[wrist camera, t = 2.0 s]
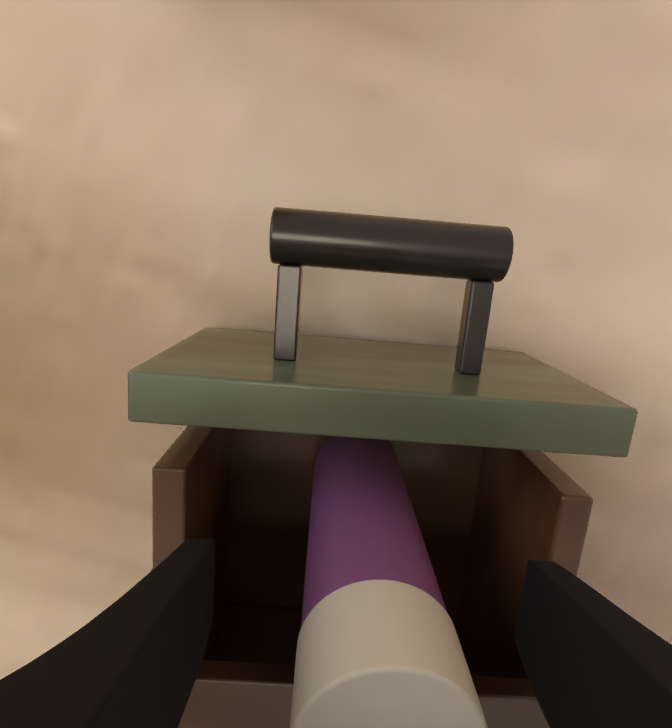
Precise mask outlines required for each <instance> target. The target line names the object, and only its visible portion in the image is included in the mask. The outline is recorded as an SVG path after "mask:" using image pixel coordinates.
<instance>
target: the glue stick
mask: <svg viewBox="0 0 672 728" xmlns="http://www.w3.org/2000/svg"><path fill="white" fill-rule="evenodd" d="M290 728H488V727H487V722H486V719H485V716H484V713H483V710H482V707H481V704H480V701H479V698H478V695H477V692H476V689H475V686H474V683H473V680H472V677H471V674H470V671H469V668H468V665H467V662H466V659H465V656H464V654H463V651H462V648H461V645H460V642H459V639H458V636H457V633H456V630H455V627H454V624H453V622H452V620H451V618H450V616H449V615H448V613H447V611H446V607H445V604H444V601H443V598H442V595H441V592H440V589H439V586H438V583H437V580H436V577H435V574H434V571H433V568H432V565H431V562H430V558H429V555H428V552H427V549H426V546H425V543H424V540H423V537H422V534H421V531H420V528H419V525H418V522H417V519H416V516H415V513H414V510H413V506H412V503H411V500H410V497H409V494H408V491H407V488H406V485H405V482H404V479H403V476H402V473H401V470H400V467H399V464H398V461H397V457H396V455H395V452H394V450H393V449H392V447H391V446H390V444H389V443H388V442H387V441H386V440H379V439H365V438H352V437H338V436H332V437H331V438H329V439H328V440H327V441H326V442H325V443H324V444H323V445H322V446H321V448H320V449H319V451H318V453H317V455H316V458H315V463H314V473H313V485H312V498H311V510H310V522H309V534H308V547H307V559H306V571H305V584H304V596H303V608H302V621H301V630H300V633H299V636H298V642H297V650H296V661H295V672H294V684H293V695H292V707H291V718H290Z"/></svg>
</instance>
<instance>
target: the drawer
mask: <svg viewBox="0 0 672 728" xmlns="http://www.w3.org/2000/svg"><path fill="white" fill-rule="evenodd" d="M512 255H513V235H512V232H511V230H510V229H509V228H508V227H501V226H489V225H478V224H466V223H454V222H443V221H431V220H419V219H408V218H396V217H385V216H373V215H361V214H350V213H338V212H327V211H315V210H303V209H292V208H280V207H275V208H274V210H273V212H272V217H271V224H270V259H271V262H272V263H274V264H280V265H278V277H277V296H276V314H275V333H268V332H255V331H242V330H230V329H217V328H204V329H203V330H201V331H199V332H197V333H195V334H194V335H192V336H190V337H188V338H187V339H185V340H183V341H181V342H179V343H178V344H176V345H174V346H172V347H171V348H169V349H167V350H165V351H163V352H162V353H160V354H158V355H156V356H155V357H153V358H151V359H149V360H148V361H146V362H144V363H142V364H140V365H139V366H137V367H135V368H133V369H132V370H130V371H129V372H128V419H129V421H132V422H146V423H159V424H173V425H187V426H188V427H187V428H186V429H185V430H184V431H183V433H182V434H181V435H180V436H179V437H178V439H177V440H176V441H175V442H174V443H173V444H172V446H171V447H170V448H169V449H168V450H167V452H166V453H165V454H164V455H163V456H162V457H161V459H160V460H159V461H158V462H157V463H156V465H155V466H154V467H153V469H152V474H153V569H154V568H155V567H157V566H158V565H159V564H160V563H161V562H162V561H163V560H164V559H165V558H166V557H168V556H169V555H170V554H171V553H172V552H173V551H174V550H175V549H176V548H177V547H179V546H180V545H181V544H182V543H183V542H184V541H186V540H187V539H188V538H199V539H215V540H216V543H215V578H214V614H213V621H212V625H211V629H210V633H209V637H208V641H207V645H206V649H205V653H204V656H203V659H205V660H222V661H239V662H255V663H272V664H289V665H295V661H296V650H297V642H298V636H299V633H300V630H301V621H302V608H303V596H304V584H305V571H306V559H307V547H308V534H309V522H310V510H311V498H312V485H313V473H314V463H315V458H316V455H317V453H318V451H319V449H320V448H321V446H322V445H323V444H324V443H325V442H326V441H327V440H328V439H329V438H331V437H332V436H338V437H352V438H365V439H379V440H386V441H387V442H388V443H389V444H390V446H391V447H392V449H393V450H394V452H395V455H396V457H397V461H398V464H399V467H400V470H401V473H402V476H403V479H404V482H405V485H406V488H407V491H408V494H409V497H410V500H411V503H412V506H413V510H414V513H415V516H416V519H417V522H418V525H419V528H420V531H421V534H422V537H423V540H424V543H425V546H426V549H427V552H428V555H429V558H430V562H431V565H432V568H433V571H434V574H435V577H436V580H437V583H438V586H439V589H440V592H441V595H442V598H443V601H444V604H445V607H446V611H447V613H448V615H449V616H450V618H451V620H452V622H453V624H454V627H455V630H456V633H457V636H458V639H459V642H460V645H461V648H462V651H463V654H464V656H465V659H466V662H467V665H468V668H469V671H470V674H471V675H475V676H492V677H509V678H526V679H528V678H527V675H526V672H525V670H524V667H523V664H522V661H521V658H520V655H519V652H518V648H517V645H516V642H515V639H514V636H513V634H514V629H515V624H516V618H517V613H518V608H519V603H520V598H521V593H522V587H523V582H524V577H525V572H526V567H527V562H528V560H538V561H553V562H555V563H557V564H559V565H560V566H562V567H563V568H565V569H566V570H568V571H569V572H571V573H572V574H573V575H575V576H577V571H578V566H579V562H580V557H581V553H582V548H583V544H584V539H585V535H586V530H587V526H588V521H589V517H590V512H591V508H592V503H593V500H592V497H591V496H590V495H588V494H587V493H586V492H585V491H584V490H583V489H582V488H581V487H580V486H579V485H578V484H577V483H575V482H574V481H573V480H572V479H571V478H570V477H569V476H568V475H567V474H566V473H565V472H564V471H562V470H561V469H560V468H559V467H558V466H557V465H556V464H555V463H554V462H553V461H552V460H551V459H549V458H548V457H547V456H546V455H545V454H544V453H543V452H542V451H544V452H558V453H571V454H585V455H599V456H613V457H627V455H628V451H629V447H630V443H631V439H632V434H633V430H634V426H635V421H636V417H637V410H636V409H635V408H633V407H631V406H629V405H627V404H625V403H623V402H621V401H619V400H617V399H615V398H613V397H611V396H609V395H607V394H605V393H603V392H601V391H599V390H597V389H595V388H593V387H591V386H589V385H587V384H585V383H583V382H581V381H578V380H576V379H574V378H572V377H570V376H568V375H566V374H564V373H562V372H560V371H558V370H556V369H554V368H552V367H550V366H548V365H546V364H544V363H542V362H540V361H538V360H536V359H534V358H532V357H530V356H528V355H526V354H524V353H522V352H509V351H497V350H484V347H485V341H486V334H487V328H488V321H489V315H490V308H491V302H492V295H493V289H494V283H493V282H499V281H501V280H503V279H504V277H505V276H506V274H507V272H508V270H509V267H510V264H511V260H512ZM302 266H310V267H322V268H334V269H346V270H358V271H370V272H382V273H394V274H407V275H419V276H431V277H443V278H455V279H467V282H466V288H465V295H464V302H463V309H462V317H461V324H460V331H459V338H458V345H457V347H446V346H433V345H420V344H408V343H395V342H382V341H370V340H357V339H344V338H331V337H319V336H306V335H298V332H299V316H300V301H301V285H302V270H303V268H302ZM490 281H491V282H490Z"/></svg>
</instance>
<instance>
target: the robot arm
mask: <svg viewBox="0 0 672 728" xmlns="http://www.w3.org/2000/svg"><path fill="white" fill-rule="evenodd" d="M215 543H216V540H215V539H199V538H188V539H187V540H186V541H184V542H183V543H182V544H181V545H180V546H179V547H177V548H176V549H175V550H174V551H173V552H172V553H171V554H170V555H169V556H168V557H166V558H165V559H164V560H163V561H162V562H161V563H160V564H159V565H158V566H157V567H155V568H154V569H153V570H152V571H151V572H150V573H149V574H148V575H146V576H145V577H144V578H143V579H142V580H141V581H139V582H138V583H137V584H136V585H135V586H134V587H132V588H131V589H130V590H129V591H128V592H127V593H125V594H124V595H123V596H122V597H121V598H119V599H118V600H117V601H116V602H115V603H113V604H112V605H111V606H109V607H108V608H107V609H106V610H104V611H103V612H102V613H100V614H99V615H98V616H97V617H95V618H94V619H93V620H91V621H90V622H89V623H88V624H86V625H85V626H84V627H82V628H81V629H79V630H78V631H77V632H75V633H74V634H72V635H71V636H70V637H68V638H67V639H65V640H64V641H62V642H61V643H59V644H58V645H56V646H55V647H53V648H52V649H50V650H49V651H47V652H46V653H44V654H43V655H41V656H39V657H38V658H36V659H35V660H33V661H32V662H30V663H28V664H27V665H25V666H23V667H22V668H20V669H18V670H16V671H15V672H13V673H11V674H10V675H8V676H6V677H4V678H3V679H1V680H0V728H178V726H179V723H180V721H181V718H182V715H183V713H184V710H185V707H186V705H187V702H188V699H189V697H190V694H191V691H192V689H193V686H194V683H195V680H196V678H197V675H198V672H199V669H200V667H201V664H202V660H203V656H204V653H205V649H206V645H207V641H208V637H209V633H210V629H211V625H212V621H213V614H214V578H215ZM513 636H514V639H515V642H516V645H517V648H518V652H519V655H520V658H521V661H522V664H523V667H524V670H525V672H526V675H527V678H528V681H529V684H530V686H531V688H532V690H533V692H534V695H535V697H536V699H537V701H538V703H539V706H540V708H541V710H542V712H543V714H544V716H545V718H546V721H547V723H548V725H549V727H550V728H672V645H671V644H669V643H668V642H666V641H665V640H663V639H662V638H661V637H659V636H658V635H656V634H655V633H653V632H652V631H651V630H649V629H648V628H646V627H645V626H644V625H642V624H641V623H639V622H638V621H636V620H635V619H634V618H632V617H631V616H630V615H628V614H627V613H625V612H624V611H623V610H621V609H620V608H619V607H617V606H616V605H615V604H613V603H612V602H610V601H609V600H608V599H606V598H605V597H604V596H602V595H601V594H600V593H598V592H597V591H596V590H594V589H593V588H591V587H590V586H589V585H587V584H586V583H585V582H583V581H582V580H580V579H579V578H578V577H576V576H575V575H573V574H572V573H571V572H569V571H568V570H566V569H565V568H563V567H562V566H560V565H559V564H557V563H555V562H553V561H538V560H528V562H527V567H526V572H525V577H524V582H523V587H522V593H521V598H520V603H519V608H518V613H517V618H516V624H515V629H514V634H513Z"/></svg>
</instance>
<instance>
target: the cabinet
mask: <svg viewBox="0 0 672 728" xmlns="http://www.w3.org/2000/svg"><path fill="white" fill-rule="evenodd" d="M152 570H153V568H152ZM152 570H151V571H152ZM294 672H295V665H289V664H272V663H255V662H239V661H222V660H205V659H203V660H202V664H201V667H200V669H199V672H198V675H197V678H196V680H195V683H194V686H193V689H192V691H191V694H190V697H189V699H188V702H187V705H186V707H185V710H184V713H183V715H182V718H181V721H180V723H179V726H178V728H290V718H291V707H292V695H293V684H294ZM471 677H472V680H473V683H474V686H475V689H476V692H477V695H478V698H479V701H480V704H481V707H482V710H483V713H484V716H485V719H486V722H487V727H488V728H550V727H549V725H548V723H547V721H546V718H545V716H544V714H543V712H542V710H541V708H540V706H539V703H538V701H537V699H536V697H535V695H534V692H533V690H532V688H531V686H530V684H529V681H528V679H526V678H509V677H492V676H475V675H471Z"/></svg>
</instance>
